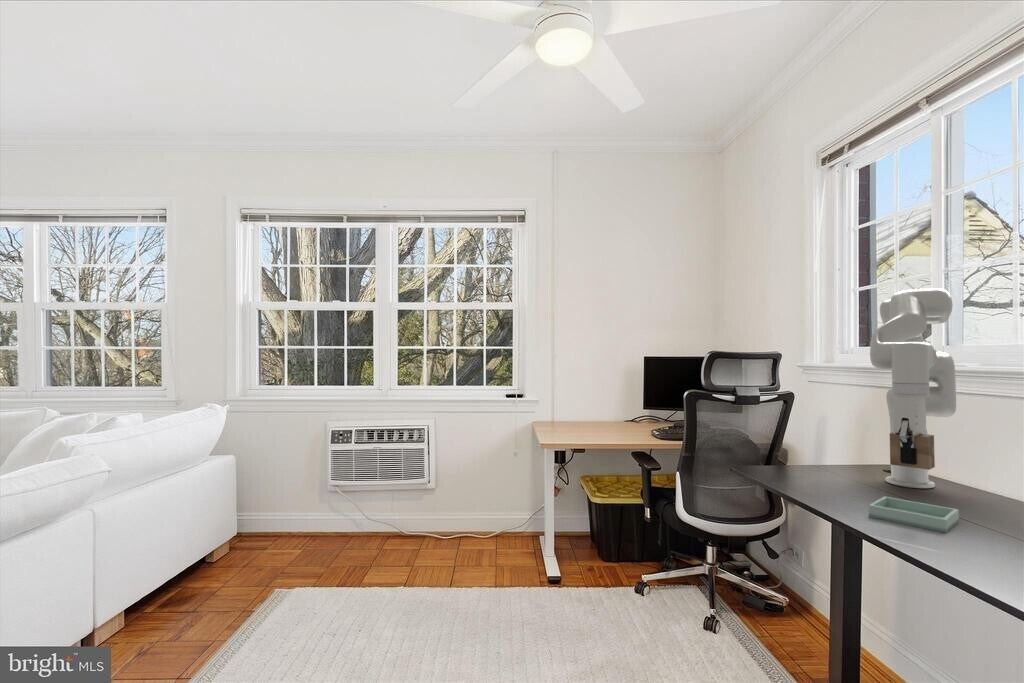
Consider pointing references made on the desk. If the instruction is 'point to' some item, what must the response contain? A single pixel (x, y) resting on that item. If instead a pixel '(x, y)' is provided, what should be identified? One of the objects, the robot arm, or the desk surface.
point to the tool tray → (914, 514)
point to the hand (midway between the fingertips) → (911, 461)
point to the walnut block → (922, 445)
